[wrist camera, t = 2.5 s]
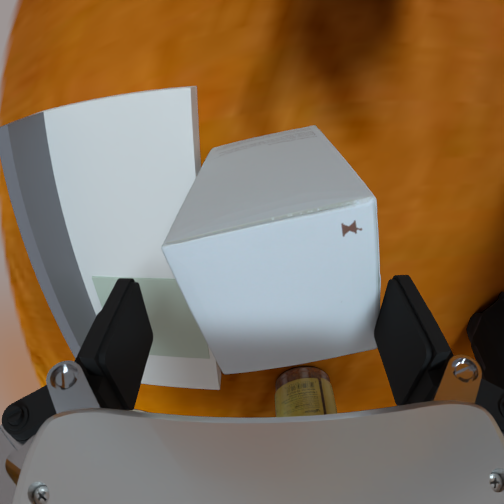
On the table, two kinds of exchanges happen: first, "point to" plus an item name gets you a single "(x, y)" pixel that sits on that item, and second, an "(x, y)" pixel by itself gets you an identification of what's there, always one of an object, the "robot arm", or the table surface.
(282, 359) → the supplement box
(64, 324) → the rail
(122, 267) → the shelf board
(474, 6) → the table surface
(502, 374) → the portable speaker
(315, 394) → the sauce bottle
